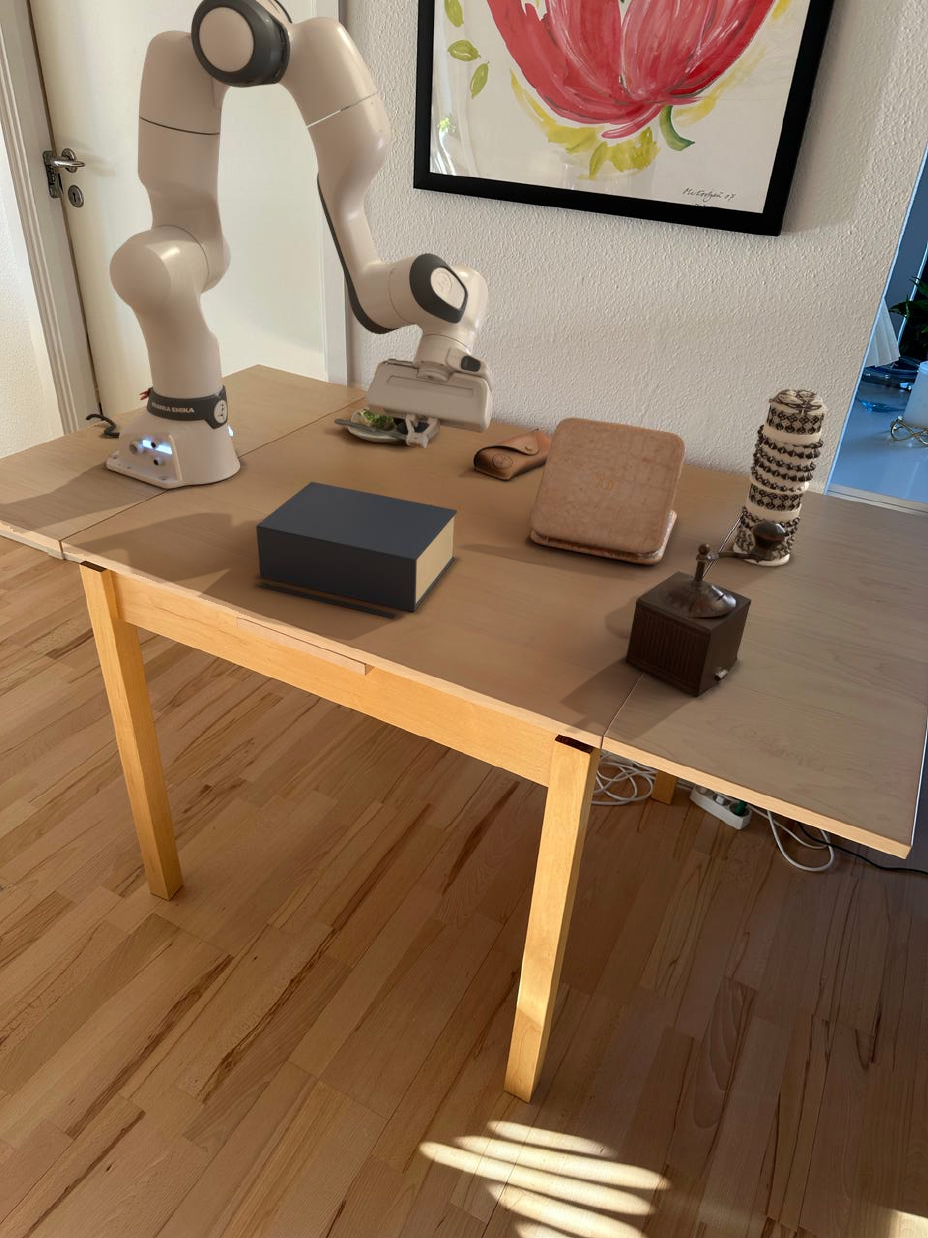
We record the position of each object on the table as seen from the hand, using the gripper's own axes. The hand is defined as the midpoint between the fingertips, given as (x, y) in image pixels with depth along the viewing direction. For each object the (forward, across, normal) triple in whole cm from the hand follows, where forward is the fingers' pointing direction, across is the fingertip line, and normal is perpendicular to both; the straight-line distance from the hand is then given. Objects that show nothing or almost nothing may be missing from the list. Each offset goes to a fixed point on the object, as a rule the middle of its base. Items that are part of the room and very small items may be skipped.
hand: (415, 445), depth 140 cm
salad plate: (-14, -17, +30) cm, 37 cm away
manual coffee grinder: (+25, +48, -9) cm, 55 cm away
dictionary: (+23, 0, -7) cm, 24 cm away
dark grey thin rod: (+30, 0, -14) cm, 33 cm away
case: (+4, +30, +12) cm, 33 cm away
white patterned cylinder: (+1, +54, +14) cm, 56 cm away
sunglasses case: (-11, +10, +27) cm, 31 cm away
